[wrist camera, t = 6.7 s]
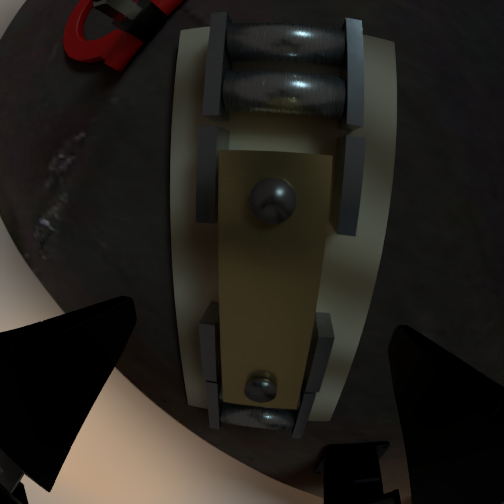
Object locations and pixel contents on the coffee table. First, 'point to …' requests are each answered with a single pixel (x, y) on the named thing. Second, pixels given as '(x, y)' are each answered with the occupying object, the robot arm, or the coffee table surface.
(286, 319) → the tapered knobbed panel
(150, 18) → the gray post stand
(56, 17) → the coffee table surface
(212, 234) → the board
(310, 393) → the chain end
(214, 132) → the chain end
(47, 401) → the robot arm
